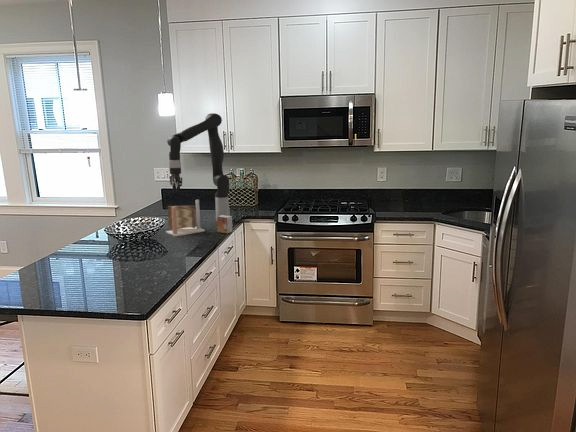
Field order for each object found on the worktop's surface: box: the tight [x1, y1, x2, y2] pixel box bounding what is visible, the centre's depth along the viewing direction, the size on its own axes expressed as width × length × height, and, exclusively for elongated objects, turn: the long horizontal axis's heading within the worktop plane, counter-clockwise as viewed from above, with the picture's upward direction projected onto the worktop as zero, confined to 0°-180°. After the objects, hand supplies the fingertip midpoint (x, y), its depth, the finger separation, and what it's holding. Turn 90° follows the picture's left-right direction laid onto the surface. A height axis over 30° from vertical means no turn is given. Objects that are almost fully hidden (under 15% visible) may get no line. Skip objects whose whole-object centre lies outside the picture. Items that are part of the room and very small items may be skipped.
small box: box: [216, 215, 233, 234], centre depth 292 cm, size 8×6×10 cm
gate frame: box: [165, 199, 206, 237], centre depth 291 cm, size 21×13×20 cm, turn 132°
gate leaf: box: [167, 205, 196, 229], centre depth 295 cm, size 17×1×15 cm, turn 97°
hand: (176, 191), depth 305 cm, fingers open, 5 cm apart
